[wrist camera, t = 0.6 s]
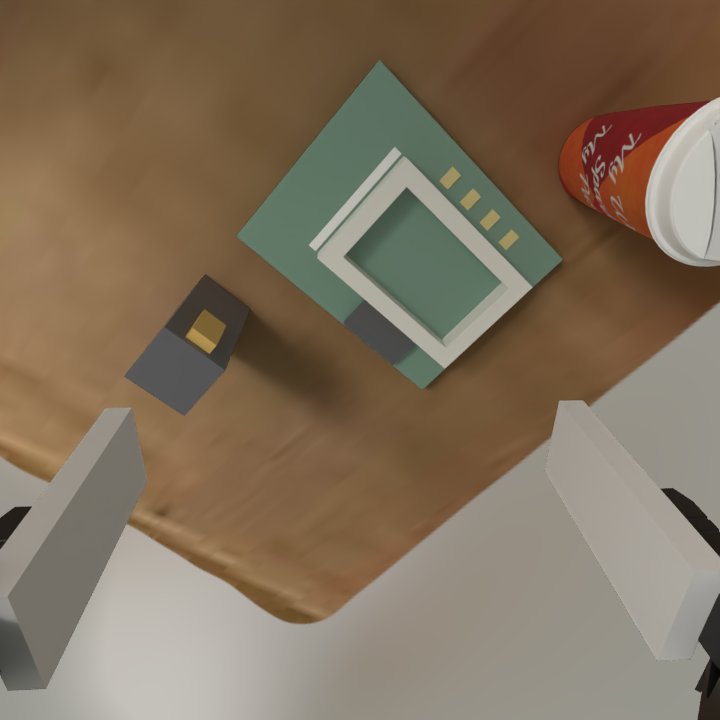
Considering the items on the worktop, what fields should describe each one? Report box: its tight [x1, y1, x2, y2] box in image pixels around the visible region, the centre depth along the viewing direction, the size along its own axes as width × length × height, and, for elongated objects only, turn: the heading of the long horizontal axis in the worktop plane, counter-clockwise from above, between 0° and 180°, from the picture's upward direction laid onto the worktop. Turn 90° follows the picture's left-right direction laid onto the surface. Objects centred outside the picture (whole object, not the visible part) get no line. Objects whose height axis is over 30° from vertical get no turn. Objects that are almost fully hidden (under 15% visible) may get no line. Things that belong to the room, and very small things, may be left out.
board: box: [237, 60, 563, 390], centre depth 35 cm, size 18×14×3 cm
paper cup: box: [559, 97, 720, 267], centre depth 28 cm, size 8×8×14 cm
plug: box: [124, 274, 250, 416], centre depth 33 cm, size 4×5×10 cm
